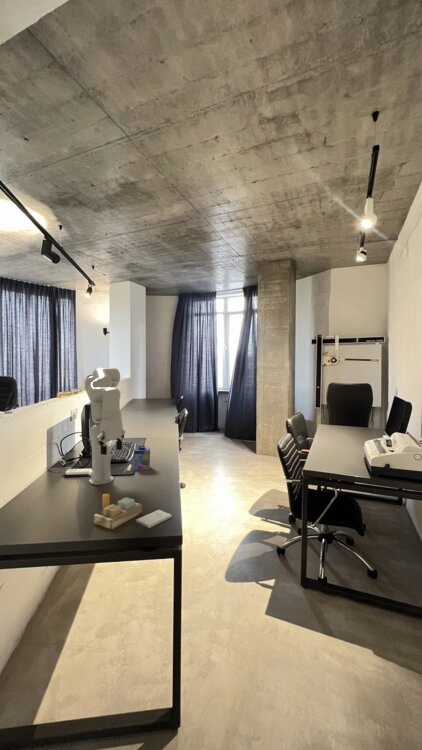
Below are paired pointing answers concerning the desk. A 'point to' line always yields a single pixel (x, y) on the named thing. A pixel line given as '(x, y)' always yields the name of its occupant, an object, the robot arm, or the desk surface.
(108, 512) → the plain block
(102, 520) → the shelf lanes
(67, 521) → the desk surface
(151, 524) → the external hard drive
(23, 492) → the desk surface
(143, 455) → the ink cartridge box
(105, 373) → the robot arm
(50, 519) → the desk surface
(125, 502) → the block
